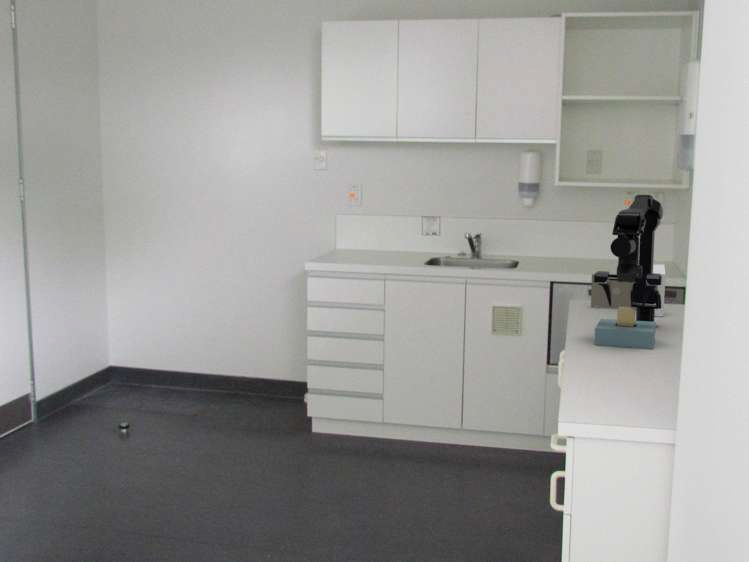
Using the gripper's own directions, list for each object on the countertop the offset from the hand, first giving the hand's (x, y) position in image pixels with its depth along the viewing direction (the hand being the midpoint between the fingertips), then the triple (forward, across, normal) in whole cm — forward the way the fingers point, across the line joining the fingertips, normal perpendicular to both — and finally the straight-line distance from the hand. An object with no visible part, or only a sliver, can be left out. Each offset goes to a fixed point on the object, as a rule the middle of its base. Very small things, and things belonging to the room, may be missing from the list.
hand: (626, 307), depth 231 cm
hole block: (+10, 0, 0) cm, 10 cm away
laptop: (+11, -8, +63) cm, 64 cm away
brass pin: (+9, 0, 0) cm, 9 cm away
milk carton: (+10, +5, +49) cm, 51 cm away
